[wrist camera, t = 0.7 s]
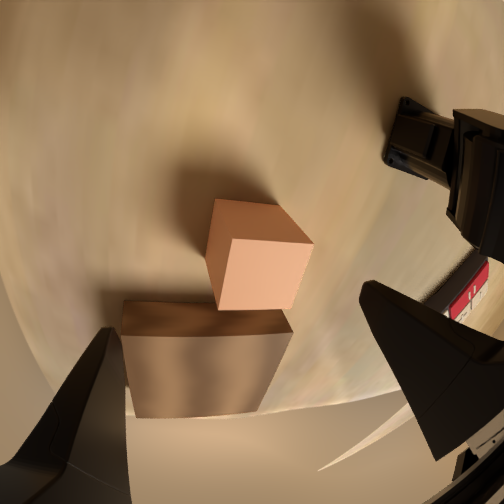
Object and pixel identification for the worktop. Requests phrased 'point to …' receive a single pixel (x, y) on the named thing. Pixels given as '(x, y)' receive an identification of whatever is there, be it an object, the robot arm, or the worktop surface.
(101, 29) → the worktop surface
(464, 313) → the red white black box
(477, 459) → the robot arm
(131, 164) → the worktop surface
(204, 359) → the walnut base
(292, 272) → the terracotta block
